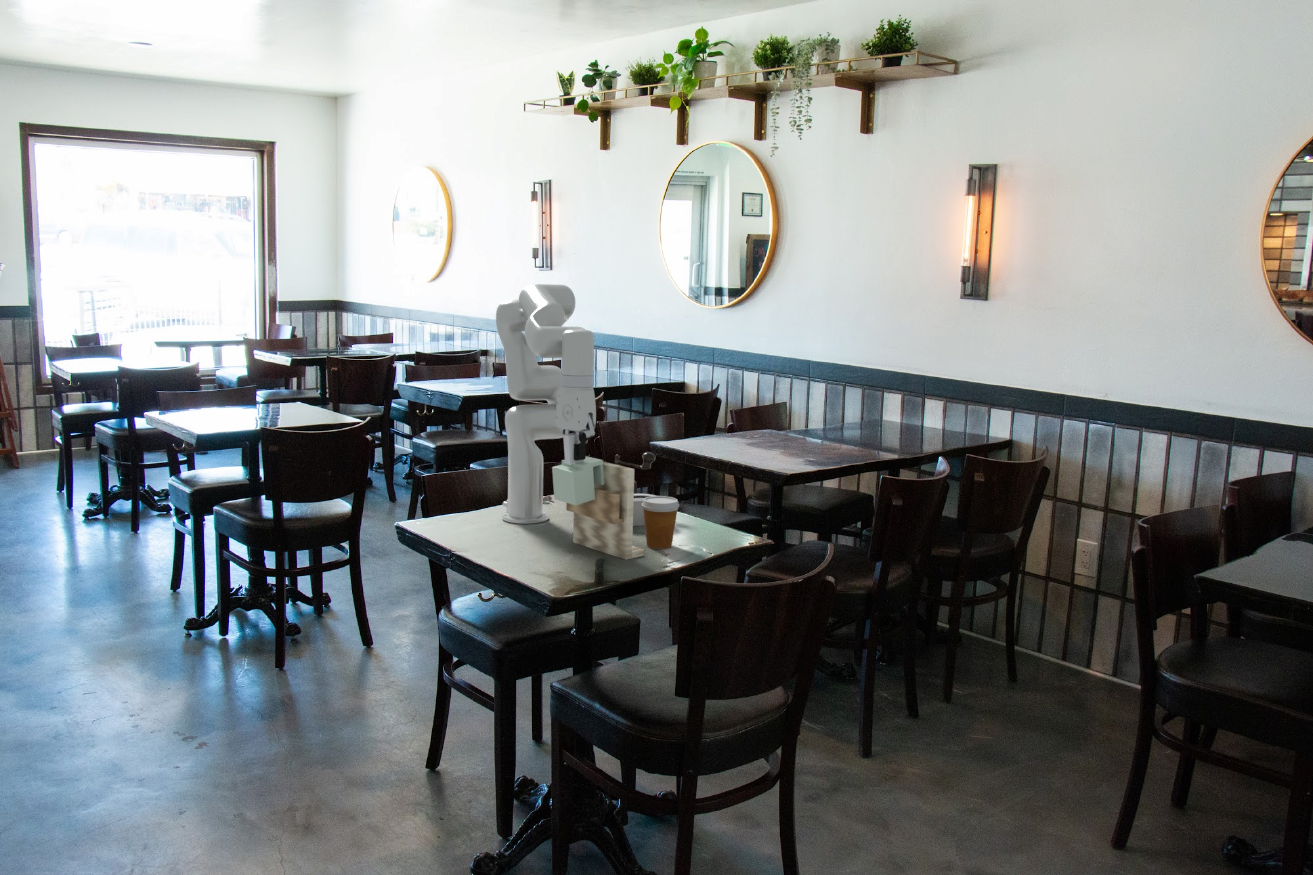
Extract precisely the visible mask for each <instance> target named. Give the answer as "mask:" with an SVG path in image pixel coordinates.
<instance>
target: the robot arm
mask: <svg viewBox="0 0 1313 875" xmlns="http://www.w3.org/2000/svg"><path fill="white" fill-rule="evenodd" d="M575 308H576V297H575V294H574V291H573V290H572V289H571V288H570V287H569V286H567V285H565V284H551V283H550V284H545V283H543V284H542V283H540V284H539V283H536V284H535V283H534V284H529V285H527V286H525V287H524V288H523V289H521V291H520V292H519V295H518V299H508V300H505V301H502V302H501V303H500V304H498V306H497V308H496V312H495V325H496V330H497V334H498V336H499V340H500V342H501V344H502V348H503V351H504V355H505V357H504V358H505V369H506V373H505V374H506V383H507V390H508V394H509V397H510V398H511V399H513V400H515V401H547V403H548V404H520V405H515V406H512V407H511V408H509V409H508V410H507V412H506V413H505V416H504V424H505V425H504V426H505V432H506V439H507V452H508V453H507V461H508V462H507V473H508V475H507V477H508V478H507V499H506V501H503V502H502V506H503V507H505V508H506V511H505V512H503V513H502V514H501V519H502V520H503V521H505V522H508V523H511V524H523V525H525V524H527V525H528V524H530V525H531V524H538V523H543V522H546V521H547V520H548V519H549V514H548V513H547V512H546V511H543V509H544V508H543V507H544V505H543V504H544V501H543V500H544V456H543V453H542V450H541V449H540V448H539V447H538V446H537V444H536V443H535V441H539V440H555V439H556V440H557V439H563V435H565V434H569V433H573V432H576V444H574V460H576V461H577V460H584V459H585V457H586V456H587V455H586V449H587V448H586V447H587V444H588V440H589V439H590V438H591V437H594V436H595V434H596V432H595V428H596V422H597V406H596V395H595V390H594V363H595V362H594V361H595V360H594V359H595V355H594V354H595V336H594V333H593V332H592V331H591V330H588V329H585V328H584V327H581V326H563V325H564V324H566V322H567V321H568V320H569V319H570V318H571V317H572V316H573V314H574V312H575ZM537 357H538V358H543V359H556V358H557V359H558V358H559V359H561V368H560V367H558V366H556V365H551V364H550V365H549V364H547V365H544V364H543V365H539V364H538V360H537ZM581 433H582V435H581Z"/></svg>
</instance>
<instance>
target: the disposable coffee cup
mask: <svg viewBox="0 0 1313 875" xmlns="http://www.w3.org/2000/svg"><path fill="white" fill-rule="evenodd" d="M642 506H643V510H644V520H645V526H644V527H645V528H644V529H645V540H646V546H647V548H650V549H654V550H656V549H657V550H667V549H671V548H672V546H673V540H674V534H675V528H676V521H677V516H678V515H677V513H678V509H679V507H680V504H679V501H678V499H677V498H675V497H673V496H666V495H655V496H651V497H646V498H644V500H643V503H642Z"/></svg>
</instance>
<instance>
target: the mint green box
mask: <svg viewBox="0 0 1313 875" xmlns="http://www.w3.org/2000/svg"><path fill="white" fill-rule="evenodd" d="M582 434H583V433H581V435H582ZM562 439H563V450H564V451H563V452H564V459H562V460H561V464H559V465H555V466H552V467H551V470H552V472H551V473H552V485H553V497H554V500H556V501H559V502H563V503H569V504H573V505H578V504H581V503H585V502H588V501H591V500H594V499H595V492H594V483H596V484H600V485H603V484H604V471H603V462H604V460H603V459H600V458H595V457H592V456H591V457H590V456H587V455H586V457H585V459H584V460H577V461H576V460H574V444H576V432H573V433H569V434H565V435H563V438H562Z"/></svg>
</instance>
